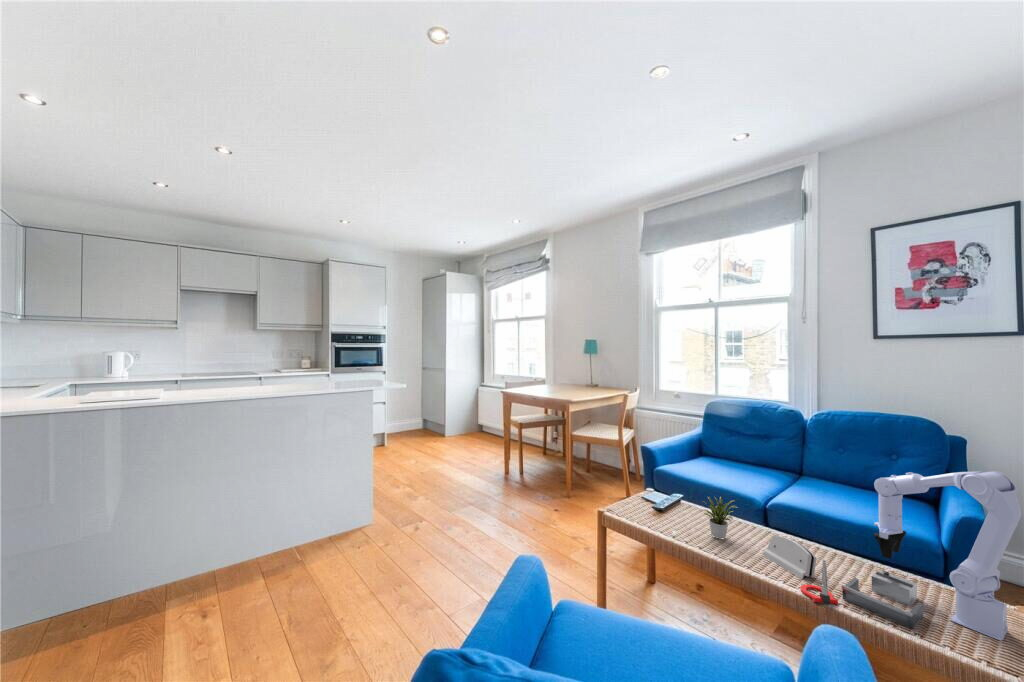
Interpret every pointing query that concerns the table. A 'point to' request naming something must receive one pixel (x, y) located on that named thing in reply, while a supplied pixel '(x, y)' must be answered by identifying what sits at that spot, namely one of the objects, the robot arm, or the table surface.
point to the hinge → (791, 556)
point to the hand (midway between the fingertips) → (890, 554)
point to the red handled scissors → (820, 589)
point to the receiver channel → (881, 605)
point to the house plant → (719, 518)
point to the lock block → (894, 587)
